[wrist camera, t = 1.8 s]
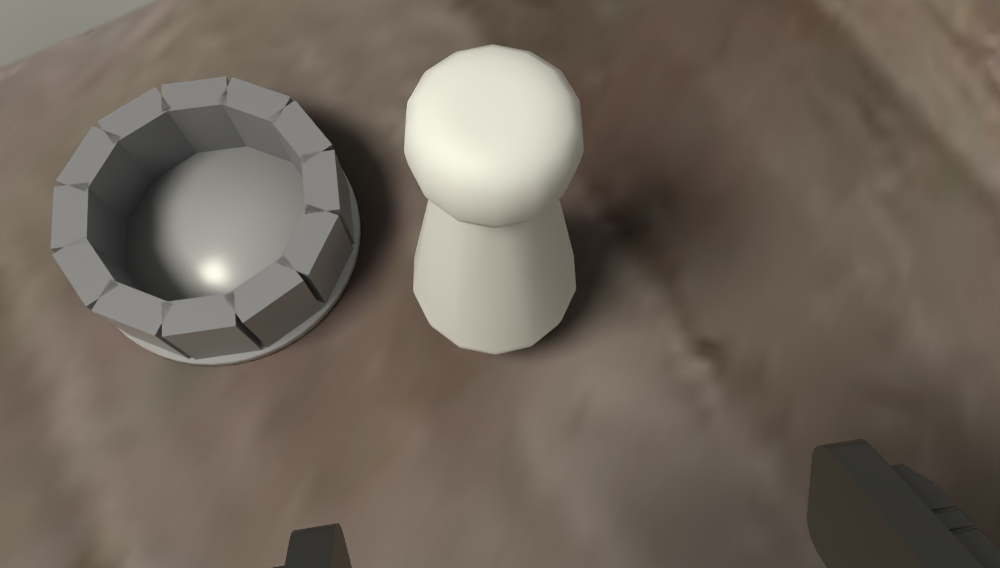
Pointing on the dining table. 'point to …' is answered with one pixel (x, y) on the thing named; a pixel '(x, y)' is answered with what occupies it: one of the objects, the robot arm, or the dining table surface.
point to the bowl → (207, 222)
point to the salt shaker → (494, 196)
